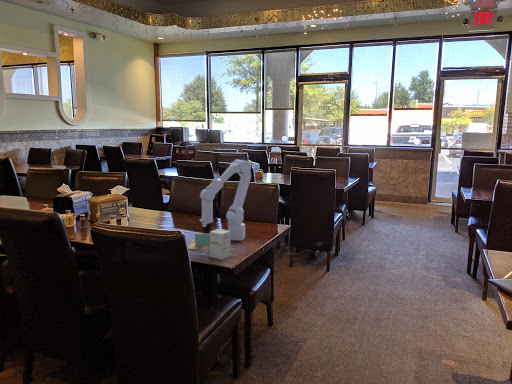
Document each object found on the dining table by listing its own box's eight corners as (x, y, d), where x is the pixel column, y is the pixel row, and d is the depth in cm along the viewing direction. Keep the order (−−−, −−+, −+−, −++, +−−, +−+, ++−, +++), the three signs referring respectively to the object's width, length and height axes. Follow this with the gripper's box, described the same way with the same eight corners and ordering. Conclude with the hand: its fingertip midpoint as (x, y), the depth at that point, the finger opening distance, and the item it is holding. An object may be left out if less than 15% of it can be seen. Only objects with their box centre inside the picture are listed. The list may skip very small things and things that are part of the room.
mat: (221, 241, 203) (221, 240, 203) (215, 250, 187) (215, 250, 187) (192, 240, 205) (192, 239, 205) (184, 249, 189) (184, 248, 189)
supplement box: (209, 257, 178) (209, 231, 176) (218, 253, 184) (218, 228, 182) (221, 260, 174) (221, 233, 172) (230, 255, 180) (231, 230, 178)
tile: (214, 245, 195) (214, 234, 194) (214, 246, 194) (214, 234, 193) (195, 244, 196) (195, 233, 195) (195, 245, 195) (195, 233, 194)
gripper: (203, 208, 205) (203, 232, 207) (196, 214, 191) (196, 240, 193) (215, 209, 204) (215, 233, 207) (209, 215, 190) (209, 240, 192)
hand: (207, 236), depth 200 cm, fingers closed
